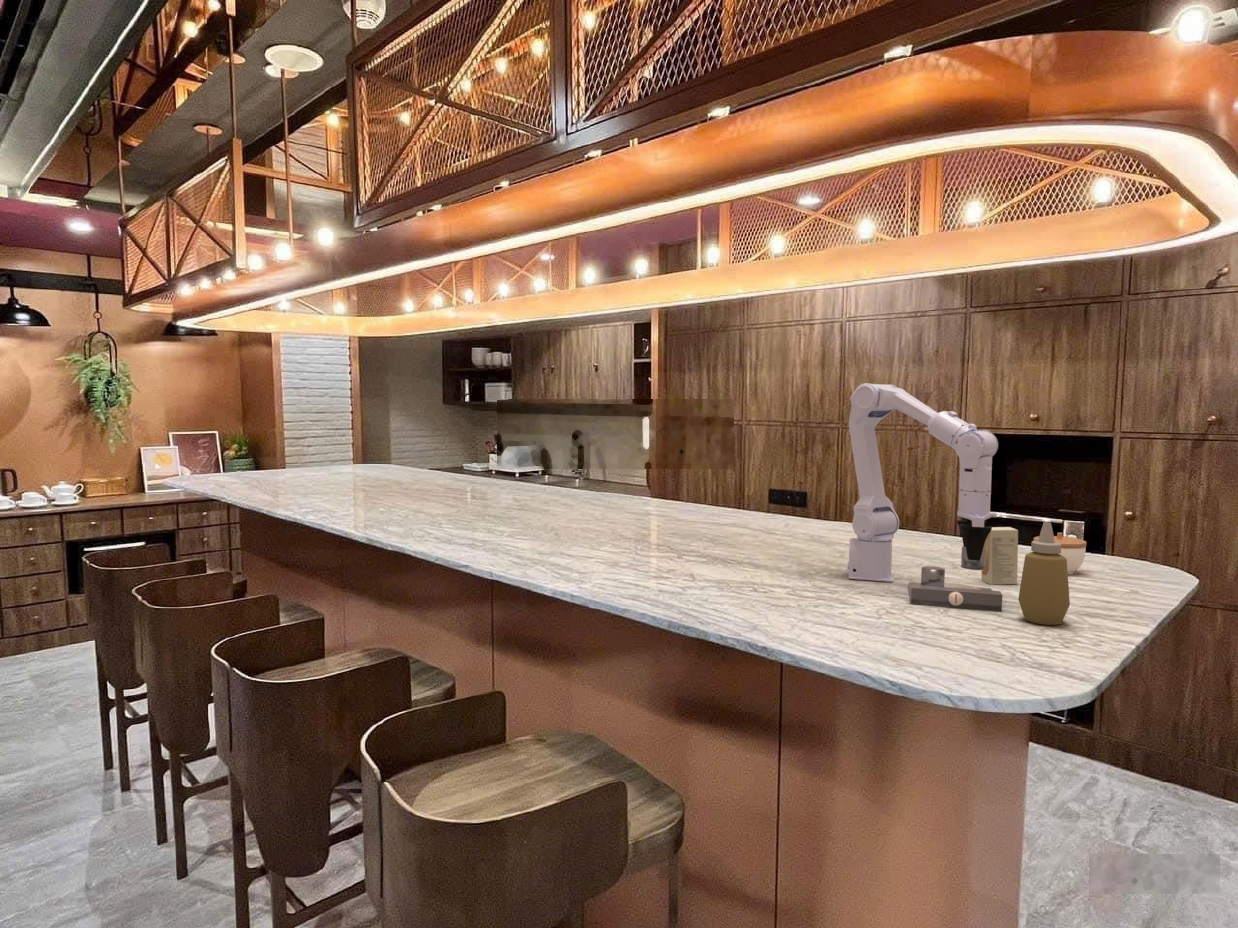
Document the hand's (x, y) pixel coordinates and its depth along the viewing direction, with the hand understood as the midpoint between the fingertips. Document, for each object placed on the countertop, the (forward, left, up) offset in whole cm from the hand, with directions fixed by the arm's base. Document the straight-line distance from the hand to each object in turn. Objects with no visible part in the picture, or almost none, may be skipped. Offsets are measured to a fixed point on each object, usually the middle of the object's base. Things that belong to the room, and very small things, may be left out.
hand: (972, 557), depth 145 cm
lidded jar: (+22, +35, -9) cm, 42 cm away
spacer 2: (0, 0, -2) cm, 2 cm away
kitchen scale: (-4, -1, -8) cm, 9 cm away
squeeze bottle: (+10, -13, -9) cm, 19 cm away
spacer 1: (-7, 0, -7) cm, 10 cm away
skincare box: (+7, +18, -9) cm, 21 cm away
